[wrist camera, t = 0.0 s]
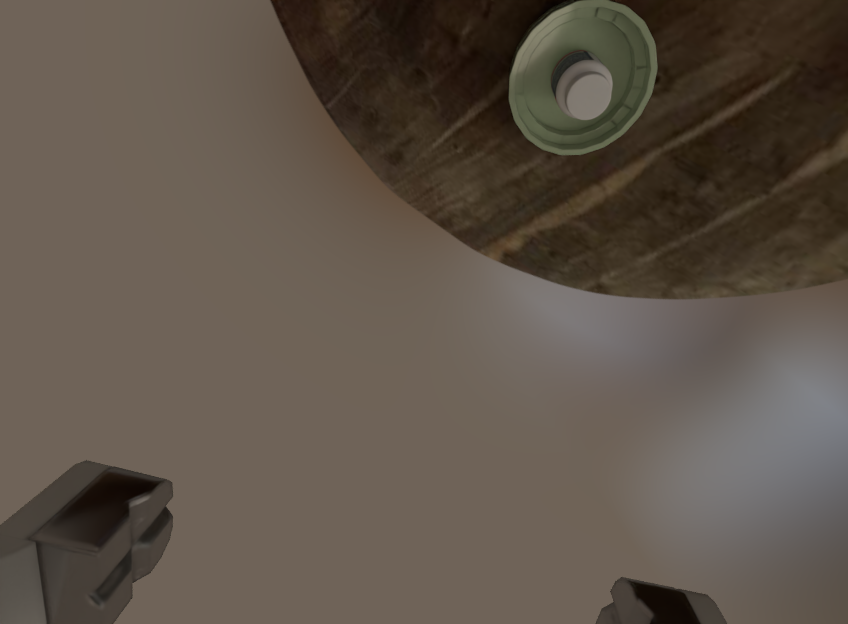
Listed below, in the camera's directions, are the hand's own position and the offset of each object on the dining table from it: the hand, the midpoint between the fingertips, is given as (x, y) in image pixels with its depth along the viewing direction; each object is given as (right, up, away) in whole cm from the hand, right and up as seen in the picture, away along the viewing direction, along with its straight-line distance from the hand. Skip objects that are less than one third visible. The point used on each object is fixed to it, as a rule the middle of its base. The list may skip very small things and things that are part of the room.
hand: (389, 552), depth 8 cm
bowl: (+17, +30, +40) cm, 53 cm away
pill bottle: (+17, +30, +40) cm, 53 cm away
